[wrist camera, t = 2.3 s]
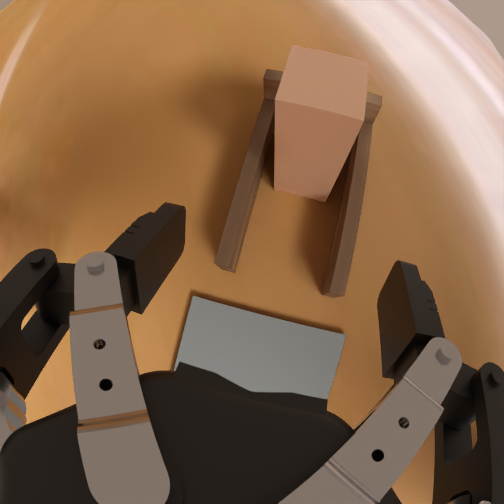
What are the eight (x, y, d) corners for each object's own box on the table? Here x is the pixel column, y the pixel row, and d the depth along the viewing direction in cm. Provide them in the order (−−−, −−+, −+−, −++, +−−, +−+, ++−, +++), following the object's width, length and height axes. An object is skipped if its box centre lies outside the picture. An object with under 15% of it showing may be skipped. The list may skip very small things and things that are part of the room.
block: (333, 157, 30) (369, 62, 16) (325, 202, 29) (364, 120, 15) (285, 145, 30) (292, 44, 16) (273, 189, 29) (274, 99, 16)
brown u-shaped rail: (363, 134, 30) (382, 96, 23) (333, 297, 27) (353, 294, 20) (268, 111, 31) (266, 69, 24) (222, 269, 28) (206, 256, 22)
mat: (344, 334, 27) (346, 334, 26) (307, 451, 25) (307, 453, 24) (194, 295, 28) (193, 295, 28) (165, 413, 26) (163, 415, 26)
